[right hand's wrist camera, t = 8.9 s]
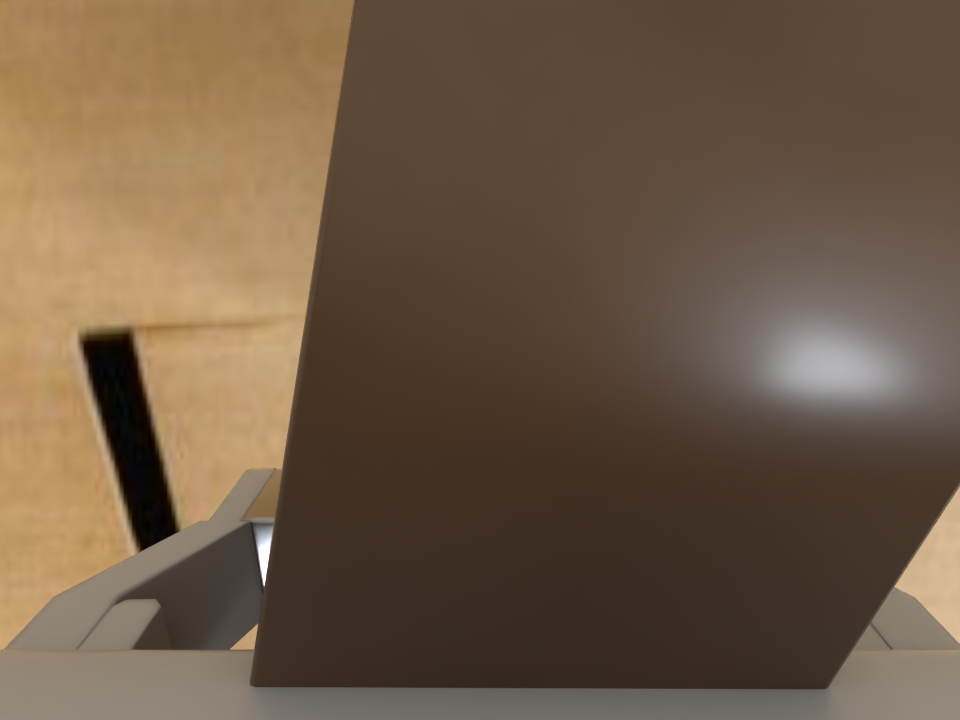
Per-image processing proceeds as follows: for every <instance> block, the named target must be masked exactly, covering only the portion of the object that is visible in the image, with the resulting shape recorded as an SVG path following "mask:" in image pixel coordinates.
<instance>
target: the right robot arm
mask: <svg viewBox="0 0 960 720" xmlns="http://www.w3.org/2000/svg"><path fill="white" fill-rule="evenodd" d="M281 474H282V469H276V468H265V469H249V470H246V471H245V472H244V474H243V475H242V476H241V478H240V479H239V480H238V482H237V483H236V485H235V486H234V487H233V489H232V490H231V491H230V493H229V494H228V496H227V497H226V498H225V500H224V501H223V502H222V504H221V505H220V506H219V508H218V509H217V511H216V512H215V513H214V515H213V516H212V517H211V519H210V520H209V521H199V522H197V523H195V524H193V525H192V526H190V527H188V528H186V529H184V530H182V531H180V532H178V533H176V534H174V535H172V536H170V537H168V538H166V539H165V540H163V541H161V542H159V543H157V544H155V545H153V546H151V547H149V548H147V549H145V550H143V551H141V552H139V553H138V554H136V555H134V556H132V557H130V558H128V559H126V560H124V561H122V562H120V563H118V564H116V565H114V566H112V567H111V568H109V569H107V570H105V571H103V572H101V573H99V574H97V575H95V576H93V577H91V578H89V579H87V580H85V581H84V582H82V583H80V584H78V585H76V586H74V587H72V588H70V589H68V590H66V591H64V592H62V593H60V594H58V595H57V596H55V597H53V598H52V599H51V600H50V601H49V602H48V604H47V605H46V606H45V607H44V608H43V609H42V610H41V611H40V612H39V613H38V614H37V615H36V616H35V617H34V618H33V619H32V620H31V621H30V622H29V624H28V625H27V626H26V627H25V628H24V629H23V630H22V631H21V632H20V633H19V634H18V635H17V636H16V637H15V638H14V639H13V640H12V641H11V642H10V644H9V645H8V646H7V647H6V648H5V649H4V650H0V720H960V644H959V643H958V642H957V641H956V640H955V639H954V638H953V637H952V636H951V635H950V634H949V632H948V631H947V630H946V629H945V628H944V627H943V626H942V625H941V624H940V623H939V622H938V621H937V620H936V619H935V618H934V617H933V616H932V615H931V614H930V613H929V612H928V611H927V610H926V609H925V608H924V606H923V605H922V604H921V603H920V602H919V601H918V600H917V599H916V598H915V597H913V596H911V595H909V594H907V593H905V592H903V591H901V590H899V589H897V588H895V587H894V588H893V589H892V591H891V592H890V594H889V595H888V597H887V598H886V600H885V601H884V603H883V604H882V606H881V608H880V609H879V611H878V612H877V614H876V615H875V617H874V618H873V620H872V621H871V623H870V624H869V626H868V627H867V629H866V630H865V632H864V634H863V635H862V637H861V638H860V640H859V641H858V643H857V644H856V646H855V647H854V649H853V650H852V652H851V653H850V655H849V657H848V658H847V660H846V661H845V663H844V664H843V666H842V667H841V669H840V670H839V672H838V673H837V675H836V676H835V678H834V679H833V681H832V683H831V684H830V686H829V687H828V688H826V689H596V688H346V687H253V686H251V685H250V675H251V669H252V662H253V656H254V650H229V649H230V648H231V647H232V646H234V645H235V644H236V643H237V642H238V641H239V640H240V639H241V638H242V637H243V636H245V635H246V634H247V633H248V632H249V631H250V630H251V629H252V628H253V627H254V626H255V625H257V624H258V623H259V617H260V610H261V604H262V597H263V591H264V584H265V578H266V571H267V565H268V558H269V552H270V545H271V539H272V532H273V526H274V519H275V513H276V506H277V500H278V493H279V487H280V480H281Z"/></svg>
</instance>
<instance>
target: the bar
mask: <svg viewBox="0 0 960 720" xmlns="http://www.w3.org/2000/svg"><path fill="white" fill-rule="evenodd" d="M959 487H960V0H354V5H353V11H352V18H351V24H350V31H349V37H348V44H347V51H346V57H345V64H344V70H343V77H342V83H341V90H340V96H339V103H338V109H337V116H336V122H335V129H334V135H333V142H332V148H331V155H330V161H329V168H328V174H327V181H326V187H325V194H324V200H323V207H322V213H321V220H320V226H319V233H318V239H317V246H316V252H315V259H314V265H313V272H312V278H311V285H310V291H309V298H308V304H307V311H306V317H305V324H304V330H303V337H302V343H301V350H300V356H299V363H298V370H297V376H296V383H295V389H294V396H293V402H292V409H291V415H290V422H289V428H288V435H287V441H286V448H285V454H284V461H283V467H282V474H281V480H280V487H279V493H278V500H277V506H276V513H275V519H274V526H273V532H272V539H271V545H270V552H269V558H268V565H267V571H266V578H265V584H264V591H263V597H262V604H261V610H260V617H259V623H258V630H257V636H256V643H255V649H254V656H253V662H252V669H251V675H250V685H251V686H253V687H346V688H596V689H826V688H828V687H829V686H830V684H831V683H832V681H833V679H834V678H835V676H836V675H837V673H838V672H839V670H840V669H841V667H842V666H843V664H844V663H845V661H846V660H847V658H848V657H849V655H850V653H851V652H852V650H853V649H854V647H855V646H856V644H857V643H858V641H859V640H860V638H861V637H862V635H863V634H864V632H865V630H866V629H867V627H868V626H869V624H870V623H871V621H872V620H873V618H874V617H875V615H876V614H877V612H878V611H879V609H880V608H881V606H882V604H883V603H884V601H885V600H886V598H887V597H888V595H889V594H890V592H891V591H892V589H893V588H894V586H895V585H896V583H897V582H898V580H899V578H900V577H901V575H902V574H903V572H904V571H905V569H906V568H907V566H908V565H909V563H910V562H911V560H912V559H913V557H914V556H915V554H916V552H917V551H918V549H919V548H920V546H921V545H922V543H923V542H924V540H925V539H926V537H927V536H928V534H929V533H930V531H931V530H932V528H933V526H934V525H935V523H936V522H937V520H938V519H939V517H940V516H941V514H942V513H943V511H944V510H945V508H946V507H947V505H948V503H949V502H950V500H951V499H952V497H953V496H954V494H955V493H956V491H957V490H958V488H959Z"/></svg>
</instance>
